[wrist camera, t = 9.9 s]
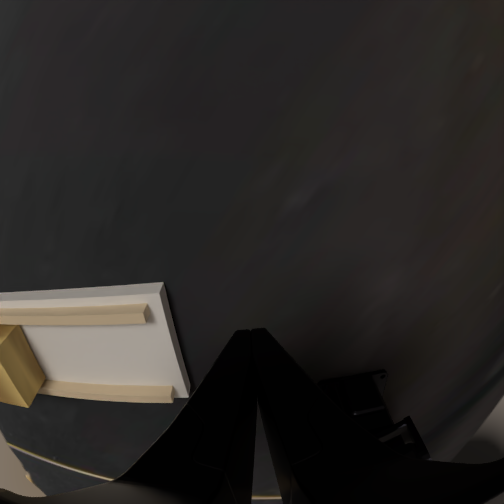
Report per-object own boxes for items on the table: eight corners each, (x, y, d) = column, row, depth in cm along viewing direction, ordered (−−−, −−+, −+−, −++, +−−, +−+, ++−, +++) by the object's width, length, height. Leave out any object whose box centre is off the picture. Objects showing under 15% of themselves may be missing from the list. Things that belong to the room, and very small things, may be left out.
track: (163, 282, 22) (144, 329, 17) (190, 384, 26) (183, 435, 21) (-36, 294, 22) (-68, 323, 16) (3, 373, 25) (-18, 406, 20)
